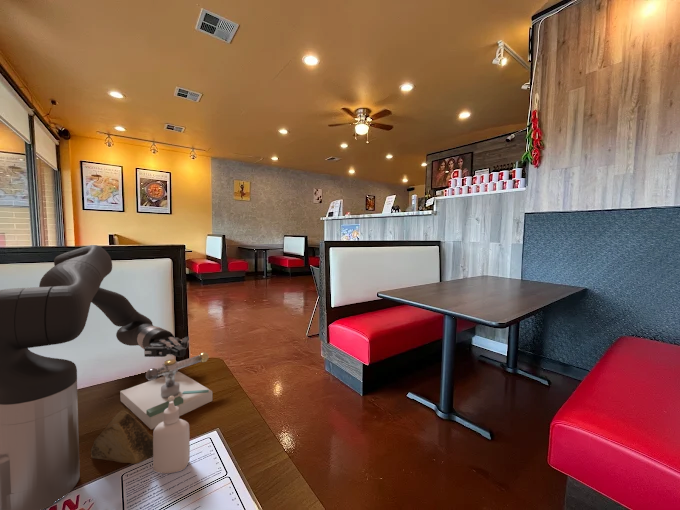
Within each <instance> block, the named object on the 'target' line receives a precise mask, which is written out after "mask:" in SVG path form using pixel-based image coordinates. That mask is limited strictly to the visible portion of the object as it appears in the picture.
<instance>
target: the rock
mask: <svg viewBox="0 0 680 510" xmlns="http://www.w3.org/2000/svg"><path fill="white" fill-rule="evenodd" d="M90 456H91V459H96V460H105V461H114V462H116V463H123V464H127V463H129V464H133V465H135V464H140V463H142V462H143V461H146V460H148V459H150V458H151V457H152V458H153V434H150V433H149V432H148V431H147V429H146V428H145V426H144V425H143V424H142V422H140V421H139V420H137V418H135V417H133V416H132V415H131V414H130V413H127V411H125V410H120V411H119V412H117V413H116V414H115V416H114V417H113V418H112V420H110V421H109V423H108V424H107V425H106V426H105V428H104V429H103V430H102V431H101V432H100V434H98V436H97V437H96V438H95V440H94V441H93V445H92V447H91V449H90Z"/></svg>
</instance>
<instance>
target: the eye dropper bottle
mask: <svg viewBox="0 0 680 510" xmlns="http://www.w3.org/2000/svg"><path fill="white" fill-rule="evenodd" d="M163 413H164V421H163V422H161V423H159V424H158V425H157V426H156V428H153V433H152V436H153V456H152V460H153V461H152V462H153V463H152V467H153V471H154V472H156V473H158V474H174V473H177V472H181V471H183V470H185V469H186V468H187V466H188V464H189V462H190V458H191V457H190V456H191V455H190V454H191V453H190V452H191V451H190V450H191V449H190V448H191V446H190V424H189V423H190V422H188V421H187V420H185V419H182V418H180V416H179V407H177V406H175V405H174V402H173V401H171V402H169V406H168V408H167V409H165V410H164V412H163Z"/></svg>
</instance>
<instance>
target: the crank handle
mask: <svg viewBox="0 0 680 510" xmlns="http://www.w3.org/2000/svg"><path fill="white" fill-rule="evenodd" d="M208 360H209V354H208V352H205V351H204V352H203V351H202V352H201V353H199V354H198V355H195V356H192V357H189V358H186V359H183V360H180V361H177V360H176V359H175V358H169V359H167V360H165V361H164V363H163V364H162V366H161V367H158V368H154V367H153V368H152V367H151V368H150V369H148V370H147V371H146V372H145V379H147V380H148V381H151V380H154V379H157V378H159V377H160V376H161V377H163V376H166V387H171V386H173V385H175V374H176V373H177V372H178V370H181V369H183V368H184V369H185V368H187V367H189V366H192V365H196V364H198V363H205V362H207V361H208Z"/></svg>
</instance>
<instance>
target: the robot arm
mask: <svg viewBox="0 0 680 510" xmlns="http://www.w3.org/2000/svg"><path fill="white" fill-rule="evenodd" d="M53 260H54V261H53V265H54V266H52V267H51V268H50V269H49V270H48V271H46V272H45V273H44V275H43V276H42V278H41V279H40V281H39V286H37V287H36V286H35V287H20V288H19V287H18V288H5V289H0V510H45V509H47V508H49V507H50V506H53V505H54V504H55V503H54V502H55V501H57V500H58V499H60V498H62V497H63V496H64V497H65V496H67V495H68V494H69V493H70V492H71V491H73V489H74V488H75V487H76V485H77V483H78V482H79V481H80V470H81V469H80V468H81V465H80V440H79V439H80V438H79V433H80V432H79V407H78V406H79V404H78V401H79V400H78V368H77V365H76V363H75V362H74V361H72V360H69V359H63V358H57V357H50V356H49V357H48V356H44V355H41V354H38V353H35V352H33V351H31V350H29V349H31V348H39V347H40V348H41V347H46V346H51V345H52V346H53V345H61V344H65V343H67V342H71V341H74V340H76V339H77V338H78V337H79V336H80V335H81V334H82V332H83V330H84V329H85V327H86V324H87V320H88V317H89V313H90V308H91V303H92V304H93V305H95V307H96V308H98V309H99V310H101V312H102V313H103V314H104V315H105V316H106V317H107V319H109V321H110V322H111V323H112V324H113V325H114V326H116V327H119V328H118V329H117V331H116V333H115V335H116V336H115V337H116V339H117V341H119V342H120V343H121V344H123V345H125V346H130V347H132V346H136V347H137V346H139V347H140V348H142V349H143V351H144V357H145V358H146V357H149V358H150V357H152V358H153V357H155V358H159V357H161V358H163V357H164V358H165V357H167V355H168V356H174V357H178V358H182V357H185V356H186V352H187V351H186V350H187V349H188V346H189V345H190V337H189V336H185V337H184V338H183V337H182V339H181V338H179V337H175V336H174V334H173V332H171V331H169V330H167V329H164V328H162V327H159V326H155V325H153V321H152V320H151V319H150V318H149V317H148V316H145V315H144V314H142V313H140V312H139V311H137V309H135V307H134V306H133V305H132V303H131V302H130V301H129V299H128V298H127V297H126V296H124V295H122V294H120V293H118V292H115V291H112V290H109V289H105V288H102V287H101V284H102V282H103V281H104V279H105V278H106V277H107V276H108V275H110V274H111V272H112V270H113V261H112V259H111V255H110V254H109V252H107V250H106V249H105V248H103V247H101V246H100V245H97V244H95V245H94V244H91V245H86V246H82V247H80V248H76V249H73V250H70V251H66V252H64V253H61V254H59V255H57V256H55V258H54V259H53ZM64 497H63V498H64ZM63 498H62V499H63ZM60 500H61V499H60ZM57 502H58V501H57ZM53 503H54V504H53Z"/></svg>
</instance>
